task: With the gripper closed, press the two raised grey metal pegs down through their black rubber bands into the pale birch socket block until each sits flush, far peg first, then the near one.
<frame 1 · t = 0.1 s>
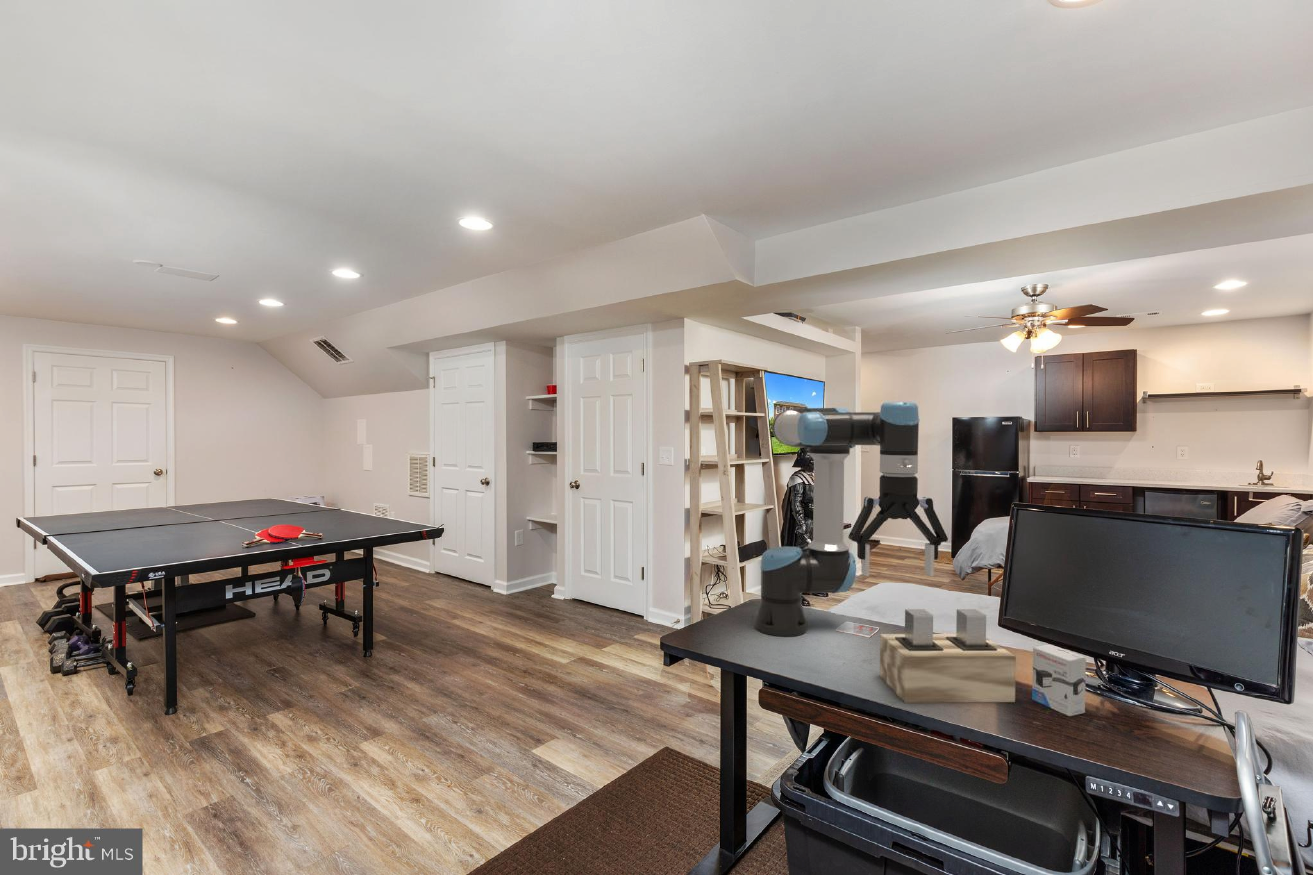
hand: (897, 574, 128), 28 cm above the table, fingers open, 13 cm apart
peg near: (918, 632, 137), point 13 cm above the table, slide at 7.0 cm
peg far: (970, 632, 137), point 13 cm above the table, slide at 7.0 cm
socket block: (944, 688, 137), on the table
ink box: (1057, 707, 129), on the table
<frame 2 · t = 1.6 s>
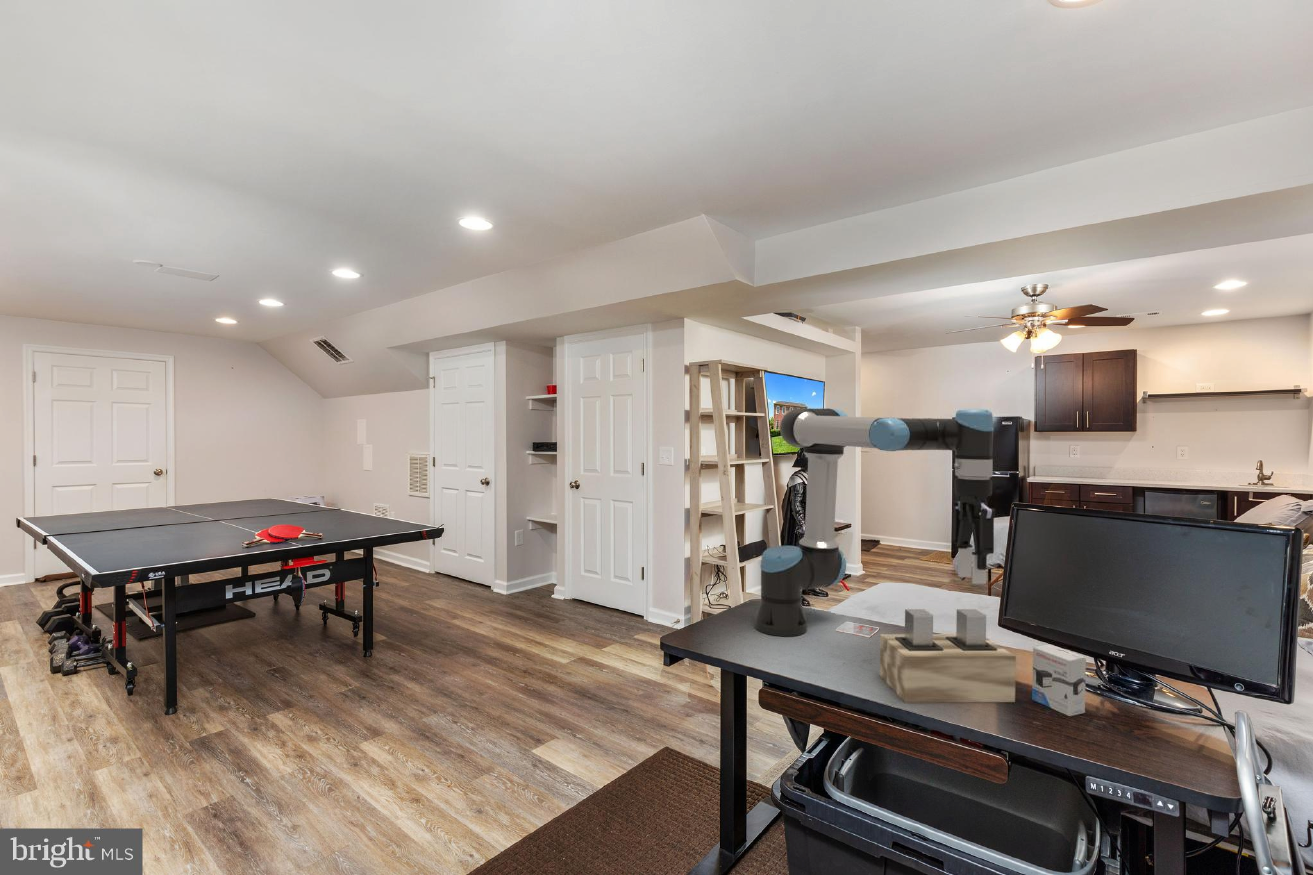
hand: (971, 579, 137), 25 cm above the table, fingers open, 5 cm apart
nothing on the table moved.
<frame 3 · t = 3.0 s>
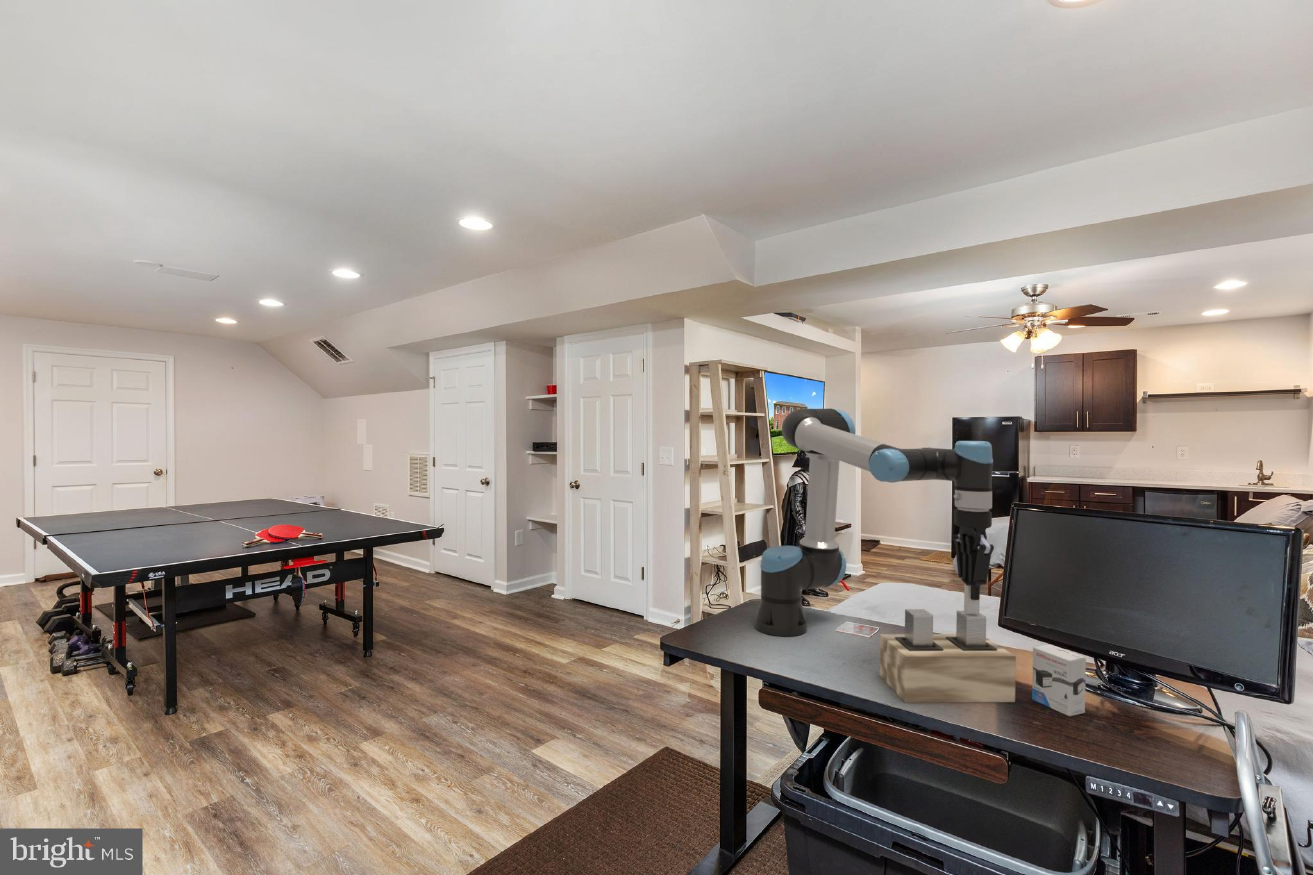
hand: (971, 612, 137), 17 cm above the table, fingers closed
peg far: (970, 634, 137), point 12 cm above the table, slide at 6.6 cm, touching gripper
everything else where it was.
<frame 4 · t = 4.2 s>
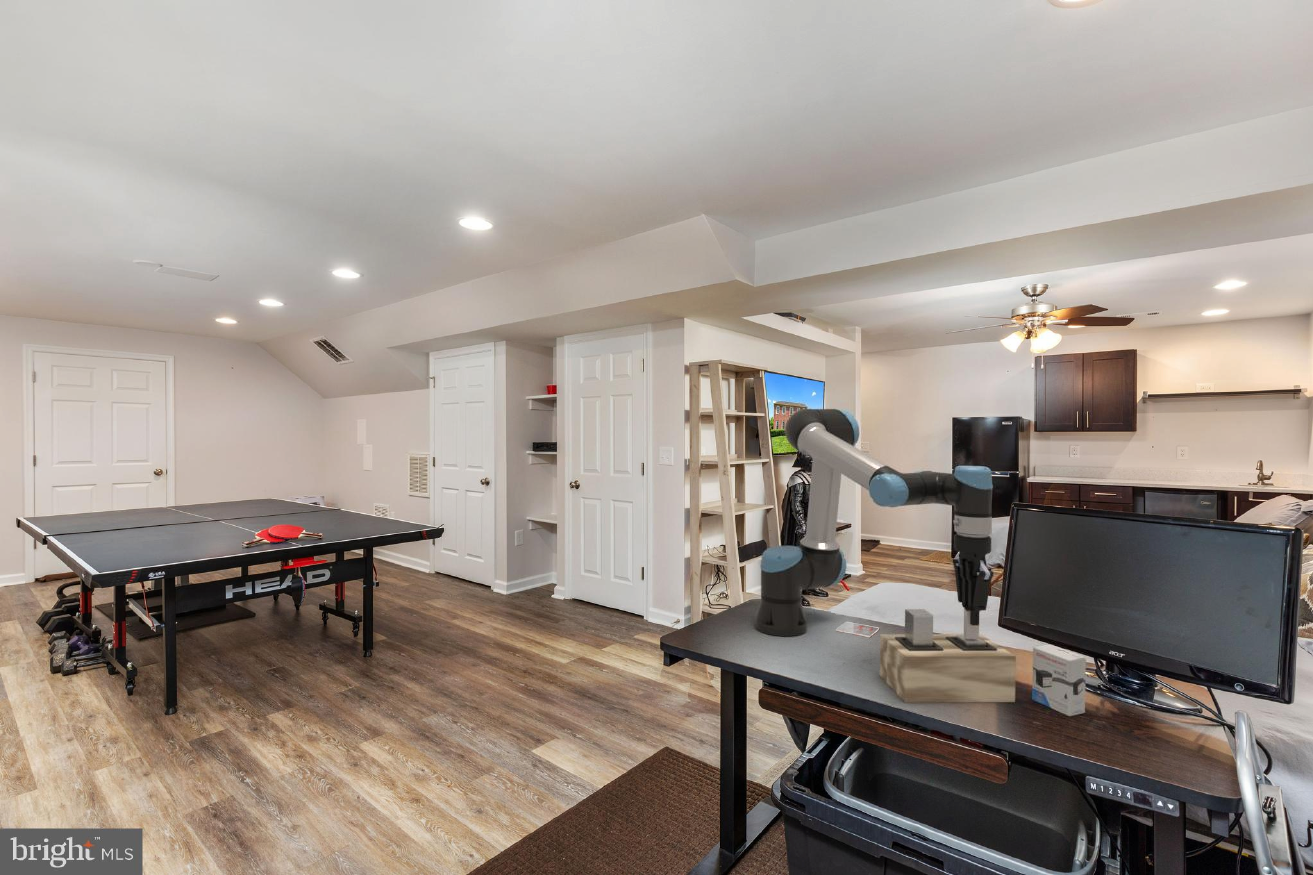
hand: (971, 637, 137), 12 cm above the table, fingers closed
peg far: (970, 659, 137), point 7 cm above the table, slide at 0.9 cm, touching gripper
everything else where it was.
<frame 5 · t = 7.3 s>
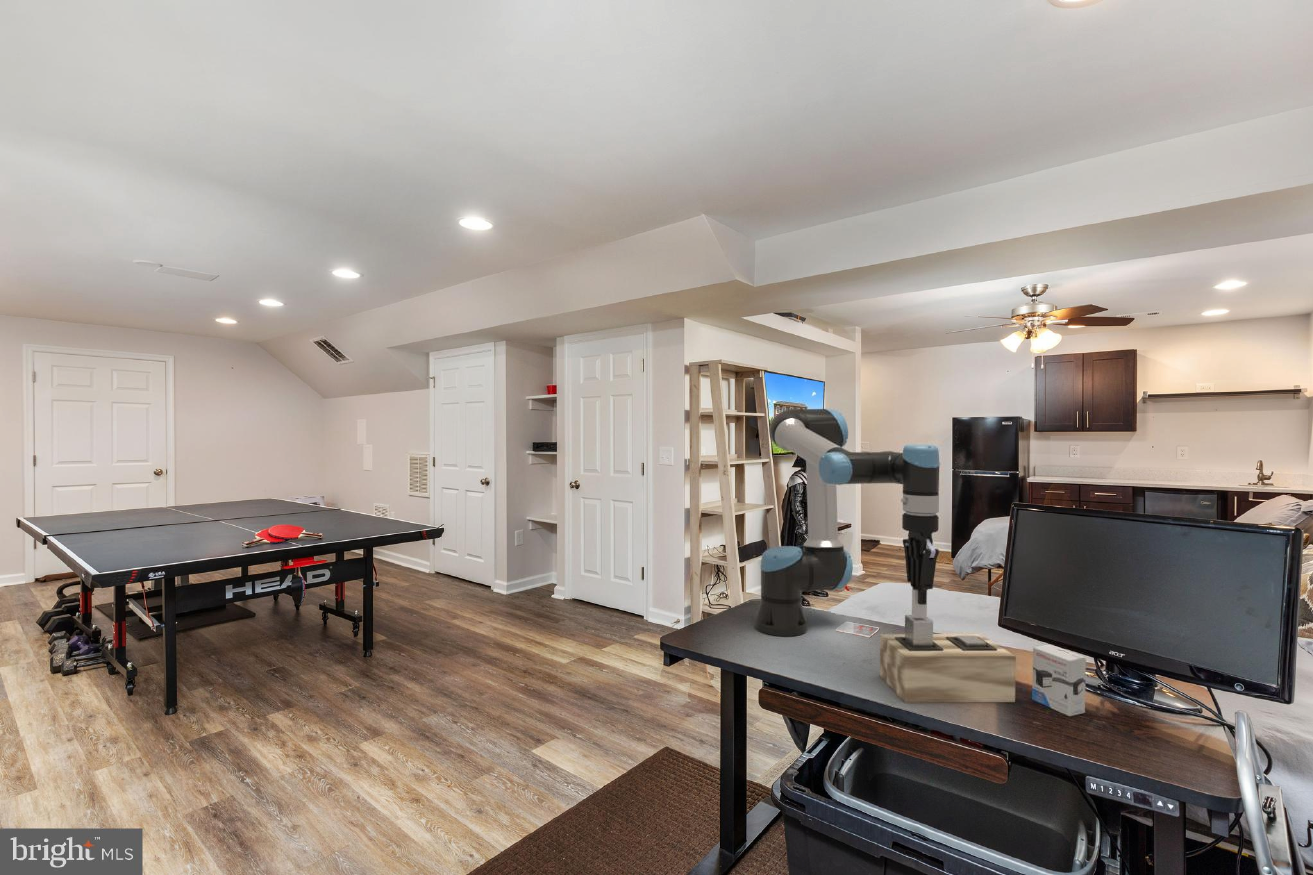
hand: (919, 616, 137), 16 cm above the table, fingers closed
peg near: (918, 638, 137), point 11 cm above the table, slide at 5.7 cm, touching gripper
peg far: (970, 659, 137), point 7 cm above the table, slide at 0.8 cm
everything else where it was.
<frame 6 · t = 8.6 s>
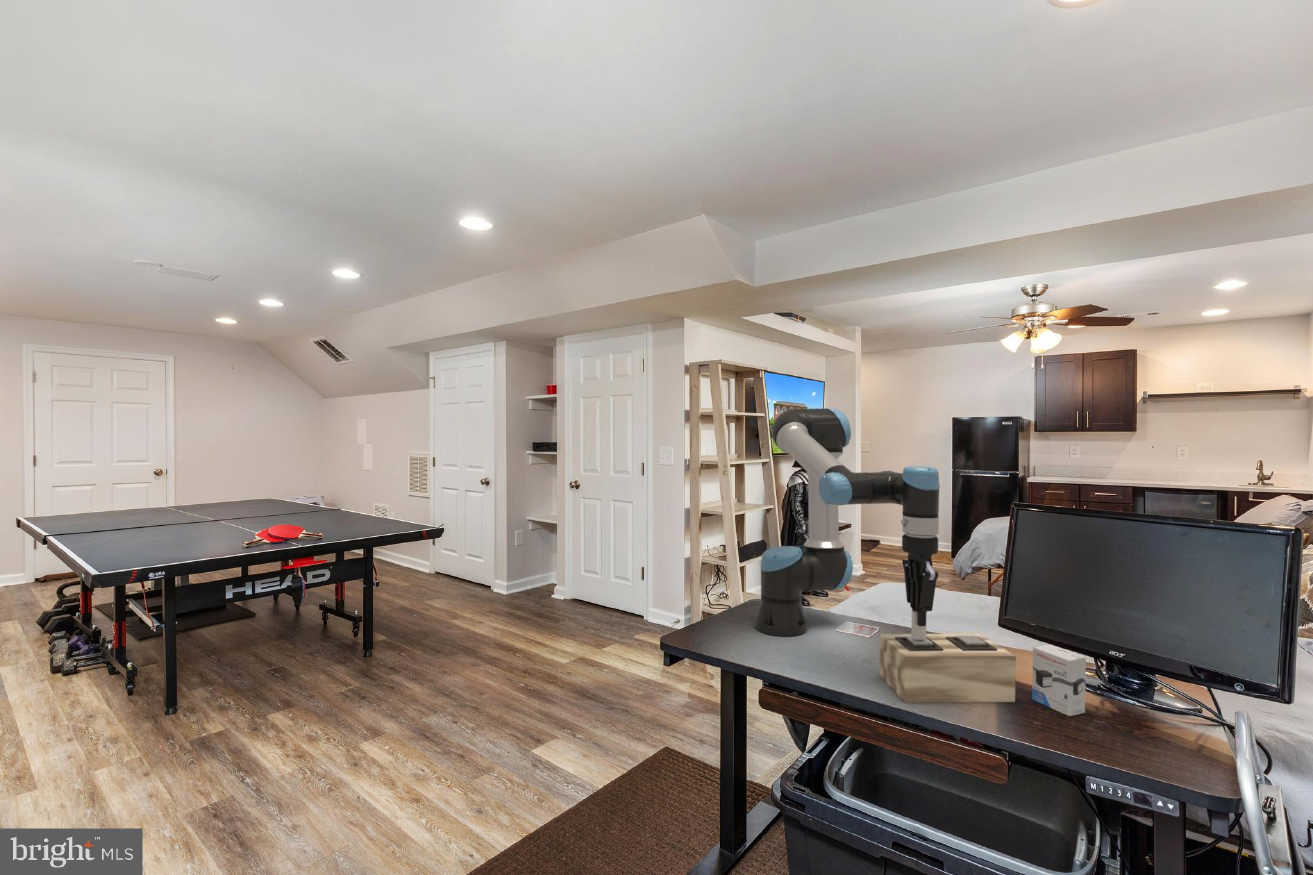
hand: (918, 638, 137), 11 cm above the table, fingers closed
peg near: (918, 659, 137), point 7 cm above the table, slide at 0.8 cm, touching gripper
everything else where it was.
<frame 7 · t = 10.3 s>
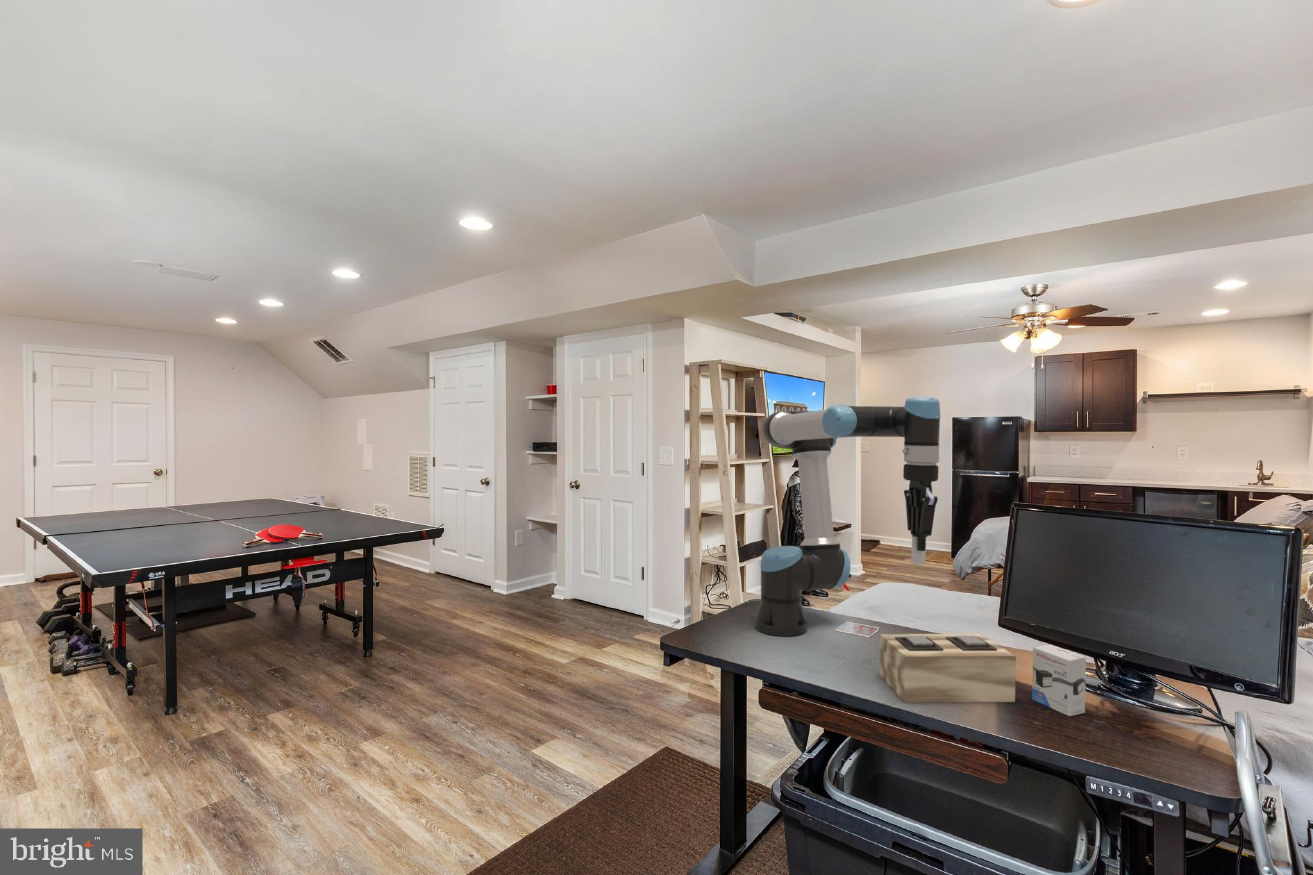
hand: (918, 563, 142), 27 cm above the table, fingers closed
peg near: (918, 659, 137), point 7 cm above the table, slide at 0.8 cm
everything else where it was.
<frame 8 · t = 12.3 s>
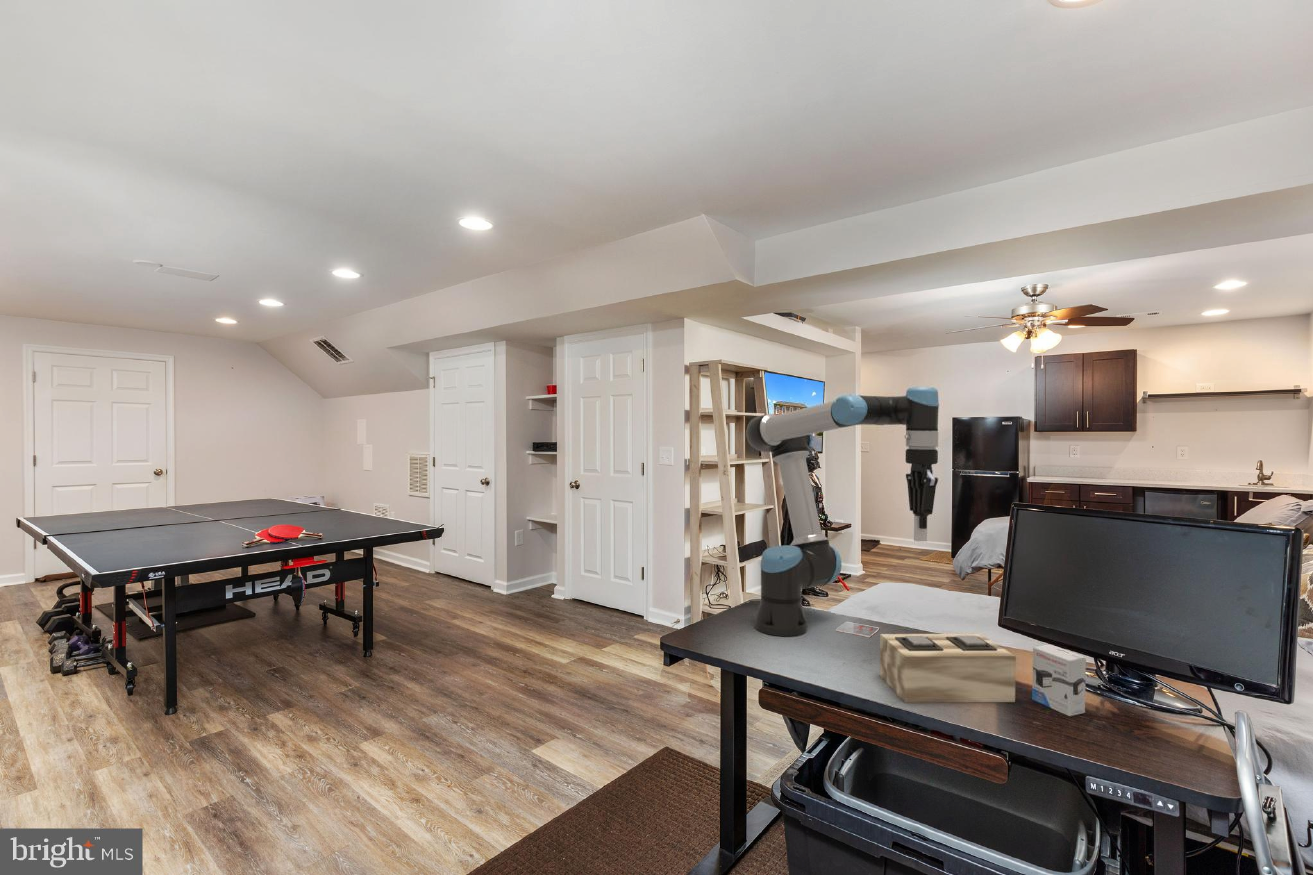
hand: (920, 540, 154), 30 cm above the table, fingers closed
nothing on the table moved.
at the end: peg far slide at 0.8 cm; peg near slide at 0.8 cm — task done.
